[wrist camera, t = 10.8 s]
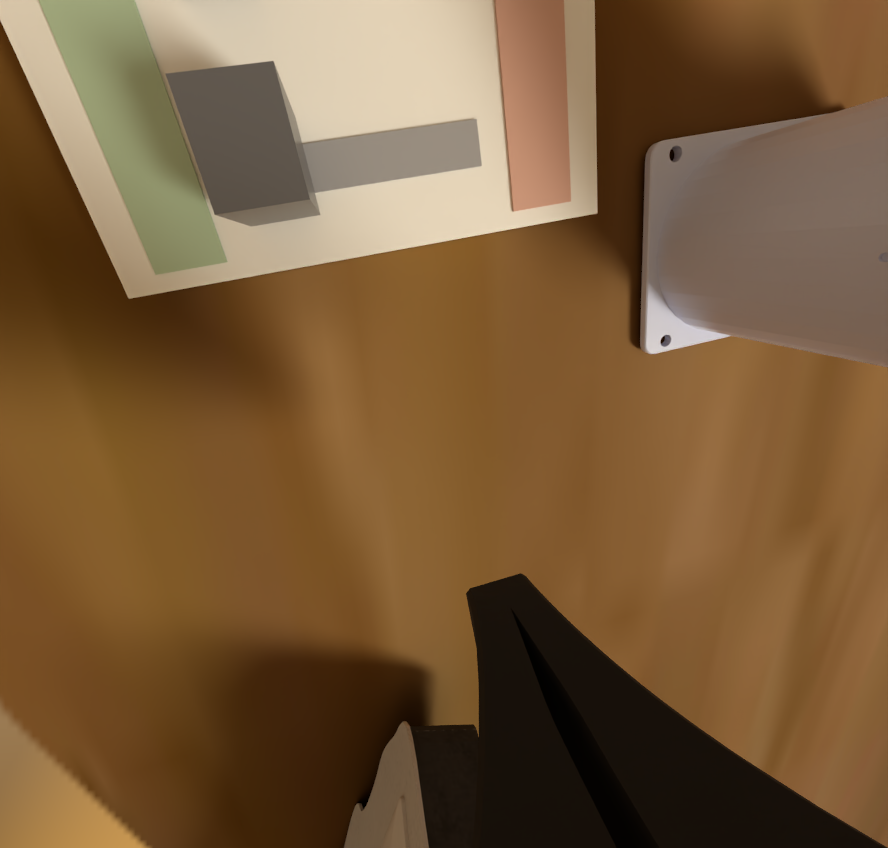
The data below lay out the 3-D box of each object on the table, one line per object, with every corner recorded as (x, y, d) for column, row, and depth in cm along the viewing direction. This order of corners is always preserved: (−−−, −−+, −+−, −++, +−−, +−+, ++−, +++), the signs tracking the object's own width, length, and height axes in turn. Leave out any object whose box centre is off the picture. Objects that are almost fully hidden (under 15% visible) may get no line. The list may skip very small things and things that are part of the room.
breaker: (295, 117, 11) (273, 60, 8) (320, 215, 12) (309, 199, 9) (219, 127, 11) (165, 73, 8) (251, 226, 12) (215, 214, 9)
